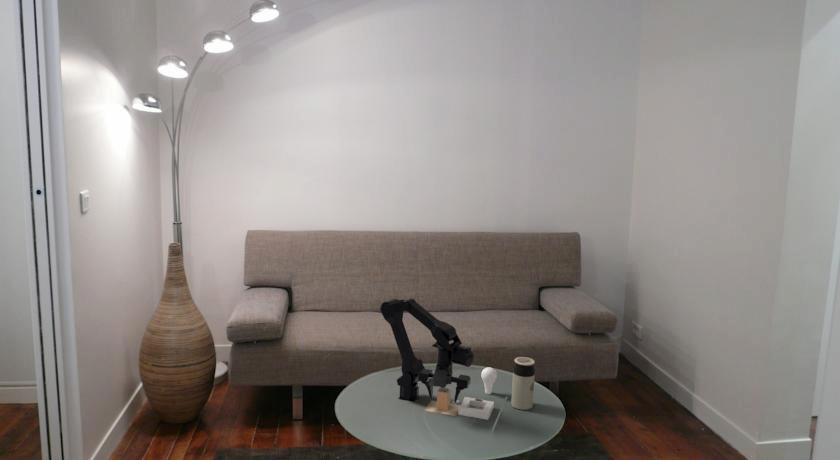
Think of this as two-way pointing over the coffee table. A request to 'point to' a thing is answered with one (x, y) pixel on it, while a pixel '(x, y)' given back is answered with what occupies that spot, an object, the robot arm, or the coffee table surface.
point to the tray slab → (451, 411)
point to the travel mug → (523, 383)
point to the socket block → (476, 408)
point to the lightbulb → (488, 379)
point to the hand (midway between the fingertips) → (443, 400)
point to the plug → (443, 399)
